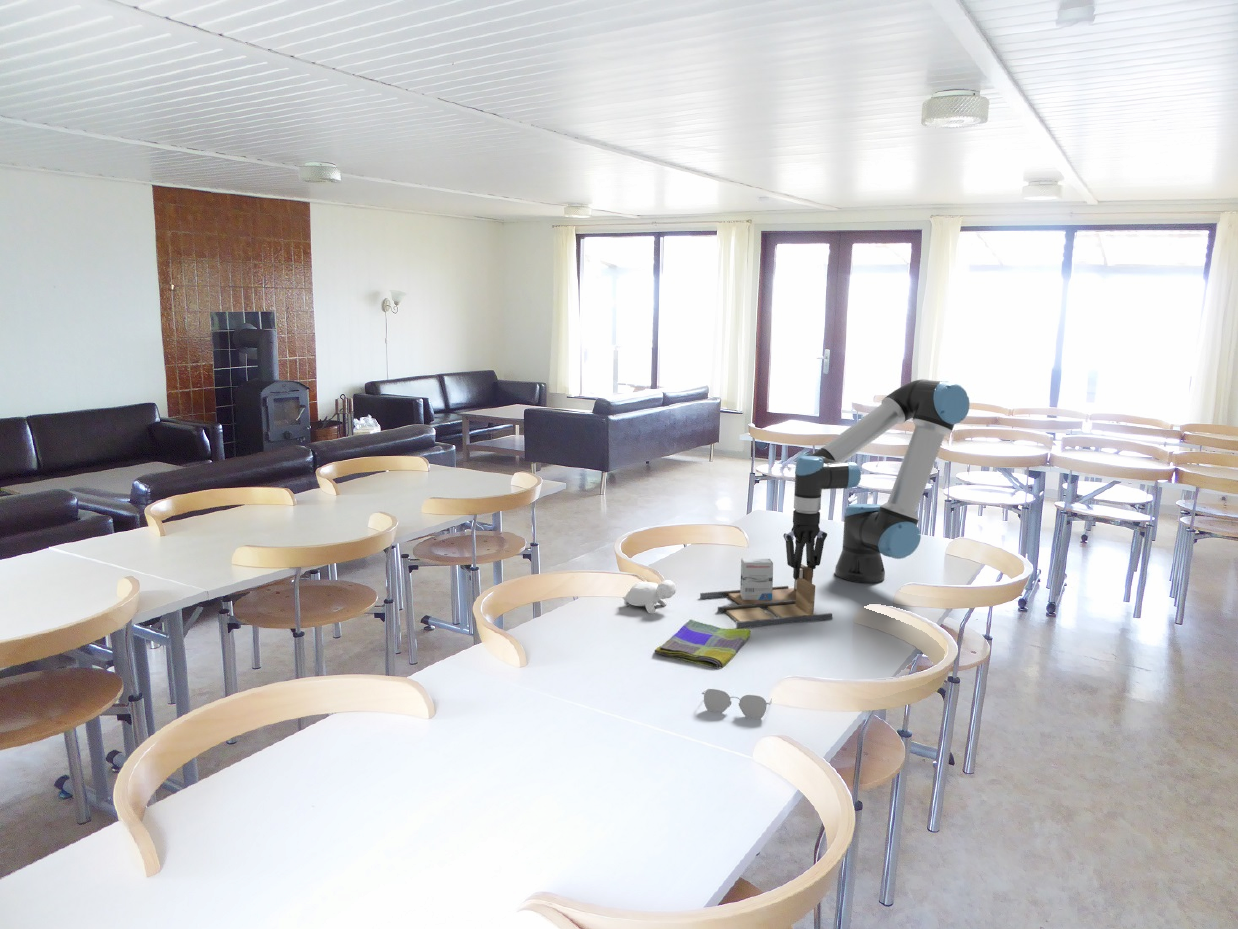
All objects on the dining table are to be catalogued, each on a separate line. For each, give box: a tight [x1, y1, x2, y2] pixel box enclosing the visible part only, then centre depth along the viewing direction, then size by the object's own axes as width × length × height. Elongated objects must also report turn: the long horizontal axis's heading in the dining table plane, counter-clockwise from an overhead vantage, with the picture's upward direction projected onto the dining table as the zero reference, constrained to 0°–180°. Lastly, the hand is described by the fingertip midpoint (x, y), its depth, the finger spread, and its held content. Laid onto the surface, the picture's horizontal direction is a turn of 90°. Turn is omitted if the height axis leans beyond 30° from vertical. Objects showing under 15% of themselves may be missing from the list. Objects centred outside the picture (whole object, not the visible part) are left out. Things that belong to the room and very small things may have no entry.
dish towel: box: [654, 618, 752, 669], centre depth 208 cm, size 18×24×3 cm
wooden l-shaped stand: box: [725, 578, 816, 623], centre depth 229 cm, size 22×10×9 cm, turn 108°
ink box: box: [739, 558, 774, 600], centre depth 241 cm, size 8×5×12 cm, turn 91°
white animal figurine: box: [622, 579, 677, 614], centre depth 233 cm, size 9×8×15 cm
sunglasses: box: [701, 688, 773, 720], centre depth 176 cm, size 14×8×5 cm, turn 72°
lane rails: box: [699, 585, 833, 629], centre depth 235 cm, size 28×25×2 cm
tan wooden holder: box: [728, 563, 814, 605], centre depth 242 cm, size 22×10×9 cm, turn 108°
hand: (802, 589), depth 245 cm, fingers open, 2 cm apart
